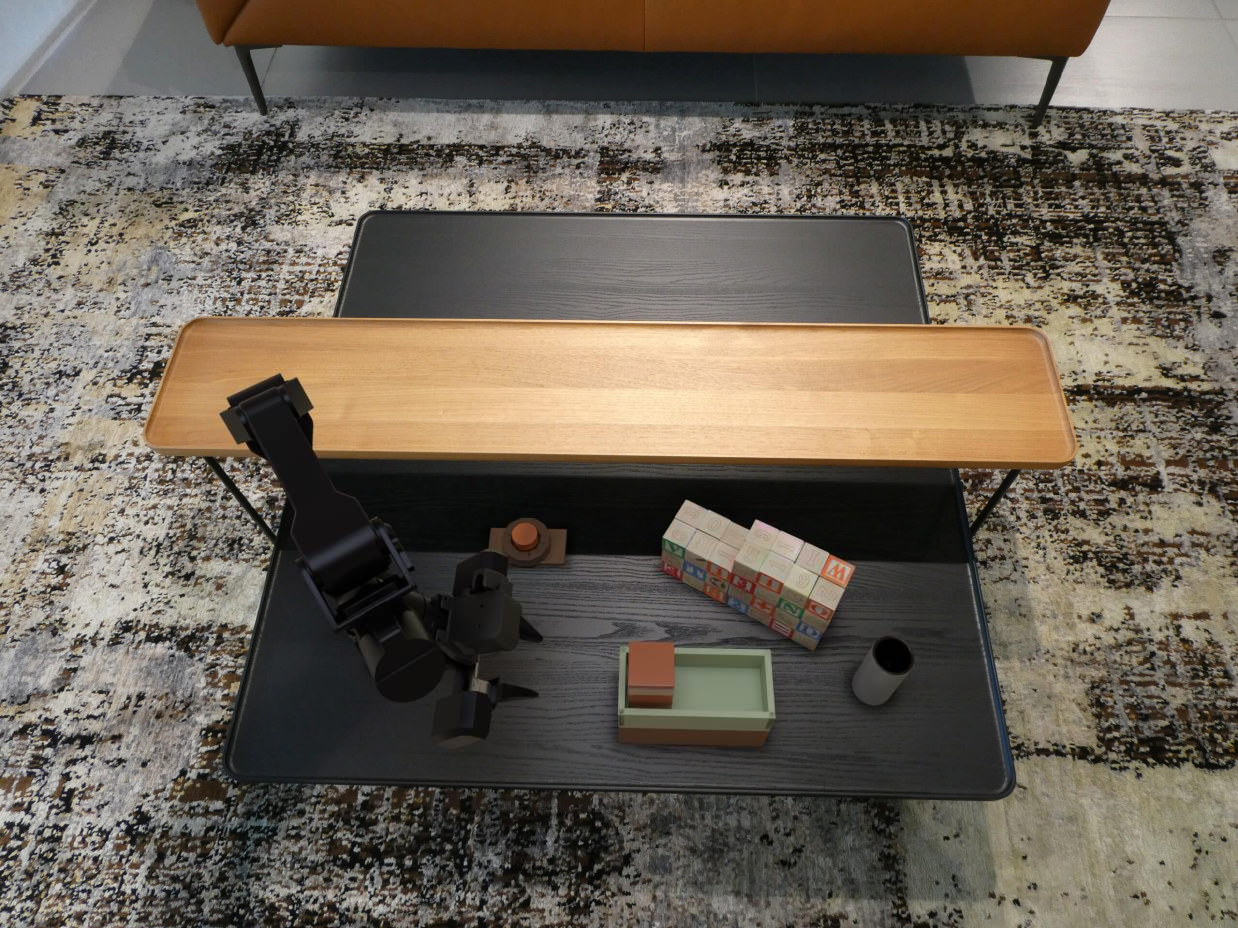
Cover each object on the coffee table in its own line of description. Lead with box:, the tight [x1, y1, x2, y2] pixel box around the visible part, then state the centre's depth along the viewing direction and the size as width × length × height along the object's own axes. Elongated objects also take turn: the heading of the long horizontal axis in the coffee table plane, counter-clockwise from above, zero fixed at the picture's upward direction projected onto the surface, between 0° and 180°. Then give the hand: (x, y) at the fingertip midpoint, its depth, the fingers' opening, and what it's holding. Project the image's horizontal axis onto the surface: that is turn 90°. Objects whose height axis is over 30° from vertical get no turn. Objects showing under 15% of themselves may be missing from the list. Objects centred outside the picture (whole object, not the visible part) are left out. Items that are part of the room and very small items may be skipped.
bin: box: [617, 645, 777, 747], centre depth 93 cm, size 16×7×11 cm, turn 88°
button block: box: [487, 517, 568, 567], centre depth 108 cm, size 10×6×2 cm, turn 88°
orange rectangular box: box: [628, 641, 675, 709], centre depth 88 cm, size 5×5×9 cm
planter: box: [851, 634, 916, 707], centre depth 94 cm, size 4×4×10 cm
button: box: [512, 523, 538, 551], centre depth 107 cm, size 3×3×2 cm
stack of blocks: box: [660, 499, 856, 652], centre depth 100 cm, size 21×6×12 cm, turn 59°
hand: (538, 667), depth 86 cm, fingers open, 6 cm apart
